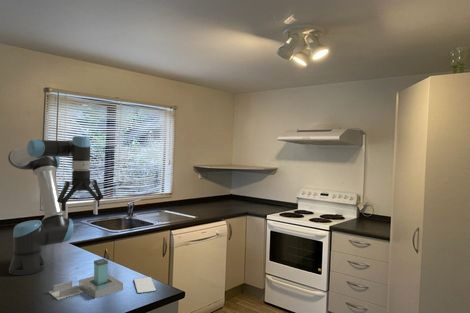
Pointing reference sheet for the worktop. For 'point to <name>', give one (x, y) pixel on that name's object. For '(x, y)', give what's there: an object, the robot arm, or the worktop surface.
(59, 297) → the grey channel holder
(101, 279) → the plug
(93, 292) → the port panel
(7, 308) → the worktop surface
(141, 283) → the smartphone
